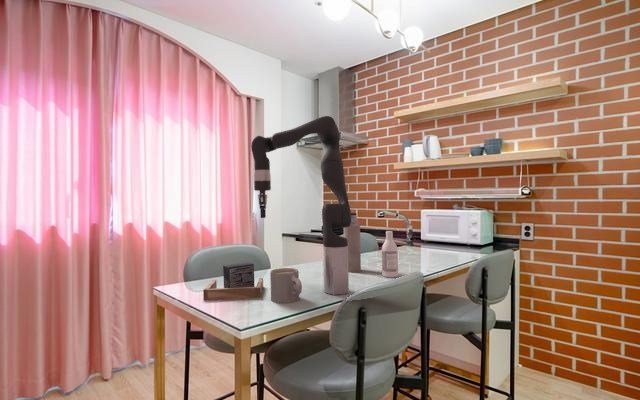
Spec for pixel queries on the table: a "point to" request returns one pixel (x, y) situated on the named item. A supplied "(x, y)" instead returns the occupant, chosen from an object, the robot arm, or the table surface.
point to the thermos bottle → (353, 244)
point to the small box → (238, 275)
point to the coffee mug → (285, 285)
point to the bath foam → (389, 256)
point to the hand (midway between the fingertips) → (263, 217)
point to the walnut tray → (232, 291)
